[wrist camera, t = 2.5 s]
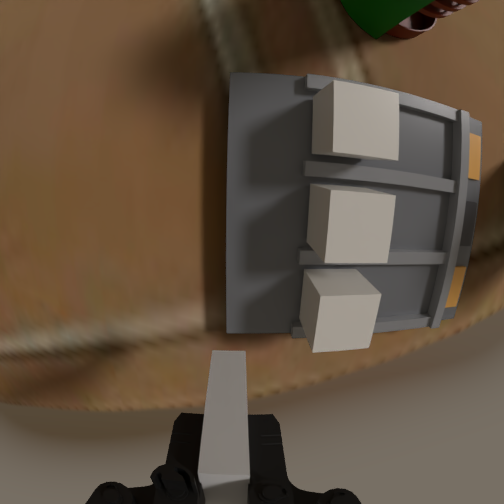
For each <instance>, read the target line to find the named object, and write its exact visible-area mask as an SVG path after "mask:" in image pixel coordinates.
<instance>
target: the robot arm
mask: <svg viewBox="0 0 504 504" xmlns="http://www.w3.org/2000/svg"><path fill="white" fill-rule="evenodd" d="M150 478H151V479H152V482H153V484H152V485H150V486H145V487H134V488H127V487H126V486H124V485H123V484H121V483H117V482H106V483H103V484H100V485H99V486H98V487H97V488H96V489H95V491H94V492H93V494H92V495H91V497H90V498H89V499H88V501H87V502H86V504H361V502H360V501H359V499H358V498H357V497H356V495H354V494H353V493H352V492H351V491H348V490H346V489H339V488H336V489H332V490H329V491H327V492H325V493H315V492H308V491H304V490H300V489H298V488H296V487H295V486H294V485H293V484H291V482H290V481H289V479H288V476H287V472H286V465H285V458H284V452H283V445H282V437H281V430H280V424H279V422H278V421H277V419H276V418H275V417H274V415H273V414H266V415H248V413H247V383H246V352H245V351H220V350H212V357H211V364H210V372H209V380H208V387H207V395H206V404H205V412H204V414H192V413H181V414H180V415H179V416H178V418H177V419H176V420H175V421H174V425H173V430H172V435H171V440H170V444H169V449H168V454H167V460H166V464H164V465H161V466H159V467H158V468H156V469H155V470H154V471H153V472H152V474H151V476H150Z"/></svg>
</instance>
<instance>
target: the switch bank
mask: <svg viewBox="0 0 504 504" xmlns="http://www.w3.org/2000/svg"><path fill="white" fill-rule="evenodd" d="M333 80H337V81H343V82H349V83H354V84H360V85H365V86H369V87H374V88H378V89H383V90H387V91H391V92H395V93H399V156H398V161H396V160H366V159H358V158H349V157H340V156H330V155H319V154H312V122H313V96H314V95H316V94H317V93H318V92H319V91H320V90H322V89H323V88H324V87H325V86H327V85H328V84H329V83H330V82H332V81H333ZM481 162H482V122H480V121H478V120H475V119H473V118H470V117H469V113H468V112H466V111H463V110H457V109H454V108H451V107H449V106H446V105H443V104H440V103H437V102H434V101H431V100H428V99H425V98H421V97H418V96H415V95H411V94H408V93H404V92H400V91H397V90H393V89H389V88H385V87H380V86H376V85H371V84H367V83H362V82H357V81H352V80H346V79H340V78H334V77H328V76H321V75H314V74H307V75H306V76H305V77H301V76H291V75H280V74H265V73H238V72H230V90H229V117H228V151H227V204H226V323H227V333H291V336H292V338H307V337H306V335H305V332H304V329H303V327H302V324H301V322H300V319H299V315H300V306H301V297H302V287H303V276H304V269H356V270H357V271H359V272H360V273H361V274H362V275H363V276H364V277H365V278H366V279H367V280H368V281H369V282H370V283H371V284H372V285H373V286H374V287H375V288H376V289H377V290H378V291H379V292H380V293H381V299H380V303H379V308H378V313H377V317H376V321H375V326H374V330H373V333H379V332H388V331H397V330H406V329H414V328H421V327H428V326H429V327H430V328H438V327H439V325H440V322H441V320H445V319H452V318H454V315H455V312H456V309H457V305H458V302H459V299H460V295H461V291H462V288H463V284H464V280H465V276H466V271H467V267H468V263H469V258H470V253H471V248H472V243H473V237H474V231H475V225H476V218H477V210H478V202H479V192H480V180H481ZM310 184H326V185H339V186H352V187H363V188H368V189H372V190H376V191H380V192H384V193H388V194H392V195H396V199H395V209H394V218H393V227H392V234H391V242H390V248H389V255H388V261H387V263H324V262H323V261H322V259H321V258H320V257H319V256H318V255H317V253H316V252H315V251H314V250H313V249H312V248H311V246H310V245H309V244H308V243H307V242H306V241H307V228H308V213H309V197H310Z"/></svg>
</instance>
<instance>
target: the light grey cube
mask: <svg viewBox="0 0 504 504" xmlns="http://www.w3.org/2000/svg"><path fill="white" fill-rule="evenodd" d="M395 199H396V195H392V194H388V193H384V192H380V191H376V190H372V189H368V188H363V187H352V186H339V185H326V184H310V197H309V213H308V228H307V241H306V242H307V243H308V244H309V245H310V246H311V248H312V249H313V250H314V251H315V252H316V253H317V255H318V256H319V257H320V258H321V259H322V261H323V262H324V263H387V261H388V255H389V248H390V242H391V234H392V227H393V218H394V209H395Z"/></svg>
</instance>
